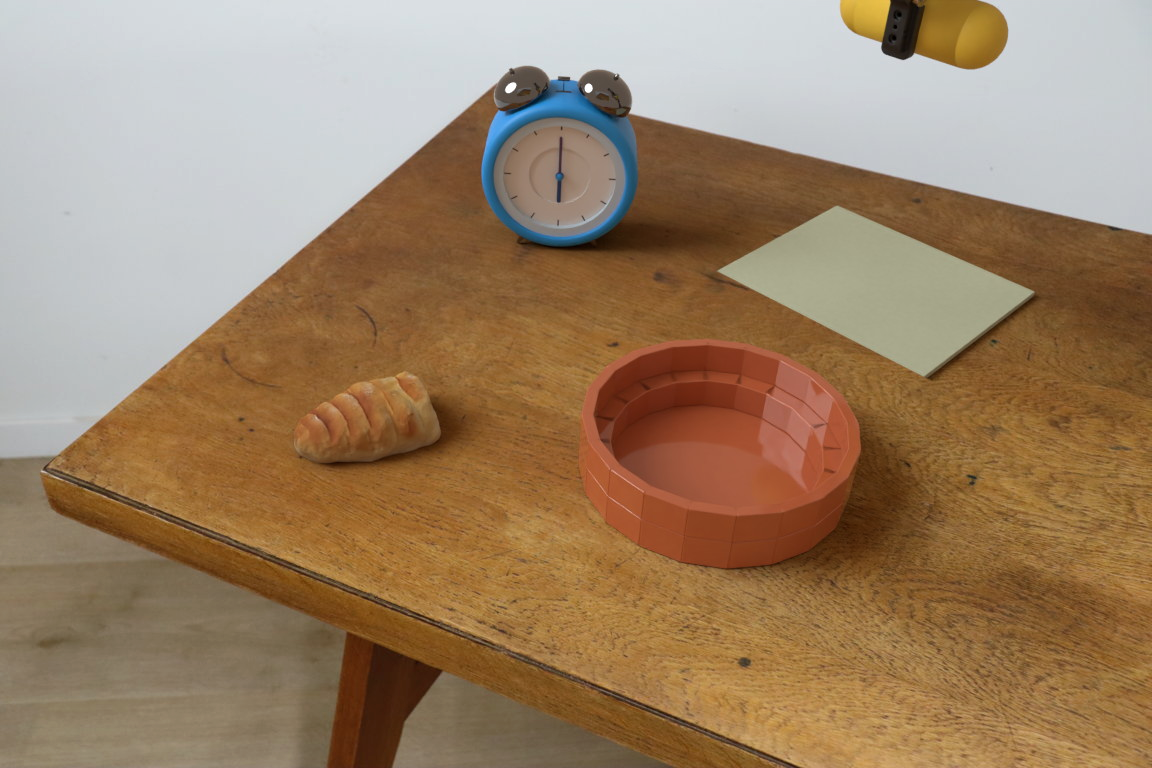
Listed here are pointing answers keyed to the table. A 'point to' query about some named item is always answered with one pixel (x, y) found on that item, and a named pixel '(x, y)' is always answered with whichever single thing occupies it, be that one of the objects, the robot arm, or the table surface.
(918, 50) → the yellow capsule
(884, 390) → the table surface
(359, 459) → the pastry
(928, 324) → the mat
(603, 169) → the alarm clock
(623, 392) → the bowl
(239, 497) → the table surface
